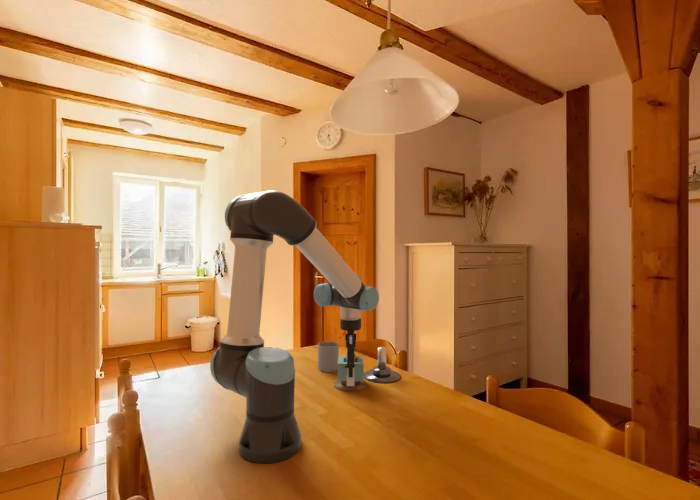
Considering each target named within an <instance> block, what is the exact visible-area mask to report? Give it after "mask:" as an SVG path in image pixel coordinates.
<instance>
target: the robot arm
mask: <svg viewBox="0 0 700 500" xmlns="http://www.w3.org/2000/svg"><path fill="white" fill-rule="evenodd" d="M224 222H225V225H226V226H227V228H228V230H229V231H230V236H229V237H230V238H229V240H230V242H232V244H233V246H234V253H233V254H234V257H233V266H232V274H231V275H232V277H231V278H232V279H231V286H230V287H231V288H230V299H229V307H228V308H229V311H228V317H227V318H228V321H227V330H226V334H225V335H224V336H223V337H222V338H220V341H219V347H217V348H216V351H214V352H213V354H212V357H211V359H210V362H209V363H210V368H209V369H210V373H211V376H212V378H213V380H214V381H215V382H216V383H217V384H219V385H220V386H221V387H222V388H223V389H226V390H228V391H232V392H233V393H236V394H237V395H240V396H242V397H244V398H245V400H246V401H245V402H246V409H245V410H246V411H245V412H246V414H245V415H246V416H245V417H246V418H245V421H244V424H243V427H242V429H241V430H242V431H241V432H240V436H239V440H238V453H239V455H240V456H241V458H243V459H244V460H247V462H248V461H249V462H252V463H256V464H271V463H279V462H281V461H284V460H287V459H289V458H291V457H293V456H294V455H296V454H297V453H298V452H299V450H300V449H301V446H302V434H301V431H300V427H299V425H298V422H297V417H296V415H295V386H296V385H295V382H296V381H295V379H296V378H295V377H296V368H295V360H294V357H293V356H292V354H291V353H290V352H289V351H287V350H286V349H282V348H280V347H271V346H265V340H264V339H263V337H262V336H261V335H260V331H261V330H260V329H261V322H262V320H261V319H262V308H263V307H262V306H263V295H264V287H265V285H264V284H265V274H266V264H267V253H268V252H267V250H268V248H270V246H272V245H273V243H274V236H276V237H279V238H281V239H282V240H283V241H285V242H286V243H287V244H288V245H289V246H290V247H291V246H292V247H293V246H295V247H296V248H297V249H298V251H300V252H301V254H303V255H304V257H305V258H306V259H307V260H308V261H309V262H310V264H312V265H313V266H314V267H315V268H316V269H317V270H318V272H319V273H320V274H321V275H322V276H323V277H324V278H325V280H327V281H328V282H324V283H319V284H317V285H316V286H315V288H314V290H313V300H314V302H315V303H316V304H317V305H318V306H319V307H330V306H335V307H339V308H340V309H339V313H340V314H339V315H340V321H339V322H340V324H339V326H340V327H339V328H340V330H342V331H344V332H347V333H345V335H344V338H345V339H344V340H345V348H346V349H347V350H346V354H347V366H345V368H347V386H354V375H355V365H354V354H355V348H356V346H357V345H356V341H357V333H355V332H356V331H360V330H361V329H362V319H361V317H362V312H363V311H372V310H375V309H376V308H377V307H378V304H379V299H380V294H379V291H378V289H377V288H376V287H374V286H370V285H365V283H364V282H363V280H362V277H361V276H360V275H357V274H356V273H355V271H354V270H353V269H352V268H351V267H350V266H349V265H348V263H347V262H346V261H345V260H344V259H343V257H342V256H341V255H340V254H339V253H338V251H337V250H336V249H335V248H334V246H333V245H331V243H330V242H329V241H328V240H327V239H326V237H325V236H324V235H323V234H322V233H321V231H320V230H319V229H318V228H317V225H318V224H317V221H316V219H315V218H314V217H313V216H312V215H311V214H310V213H309V211H308V210H307V209H306V208H305V207H304V206H303V205H302V204H301V203H299V202H298V201H297V200H296V199H294V198H293V197H291V196H290V195H288V194H287V193H284V192H282V191H279V190H272V189H271V190H270V189H269V190H265V191H259V192H251V193H249V192H248V193H243V194H241V195H237V196H236V197H234V198H233V199H232V200H231V201H229V203H228V204H227V206H226V208H225V212H224ZM355 356H357V355H356V354H355Z"/></svg>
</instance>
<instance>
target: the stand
mask: <svg viewBox="0 0 700 500" xmlns="http://www.w3.org/2000/svg"><path fill="white" fill-rule="evenodd" d="M355 355H356V353H354V362H355ZM345 356H346V362H347V353H346V354H345ZM333 387H334V388H335V389H337V390H340V391H344V392H359V391H362V390H365V389H366V388H367V387H368V382H367V381H366V379H364V380H363V381H354V386H347V381H338V379H335V381H334V382H333Z"/></svg>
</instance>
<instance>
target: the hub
mask: <svg viewBox="0 0 700 500" xmlns="http://www.w3.org/2000/svg"><path fill="white" fill-rule="evenodd" d="M400 379H401V374H400V373H399V371H396V370H393V369H392V368H391V367H390V366H387V347H385V346H378V347H377V365H376V366H373V367H372V369H368V370H366V371H364V380H365V381H366V380H367V381H369V382H371V383H379V384H390V383H395V382H397V381H399V380H400Z"/></svg>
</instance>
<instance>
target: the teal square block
mask: <svg viewBox="0 0 700 500" xmlns="http://www.w3.org/2000/svg"><path fill="white" fill-rule="evenodd" d="M354 365H355V375H354V381H363V380H365V378H364V372H365V371H364V367H365V366H364V365H365V364H364V356H363V355H358V356H357V355H356V356H355V362H354ZM345 366H347V362H346V355H339V356H338V370H337V380H338V381H347V368H345Z"/></svg>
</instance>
